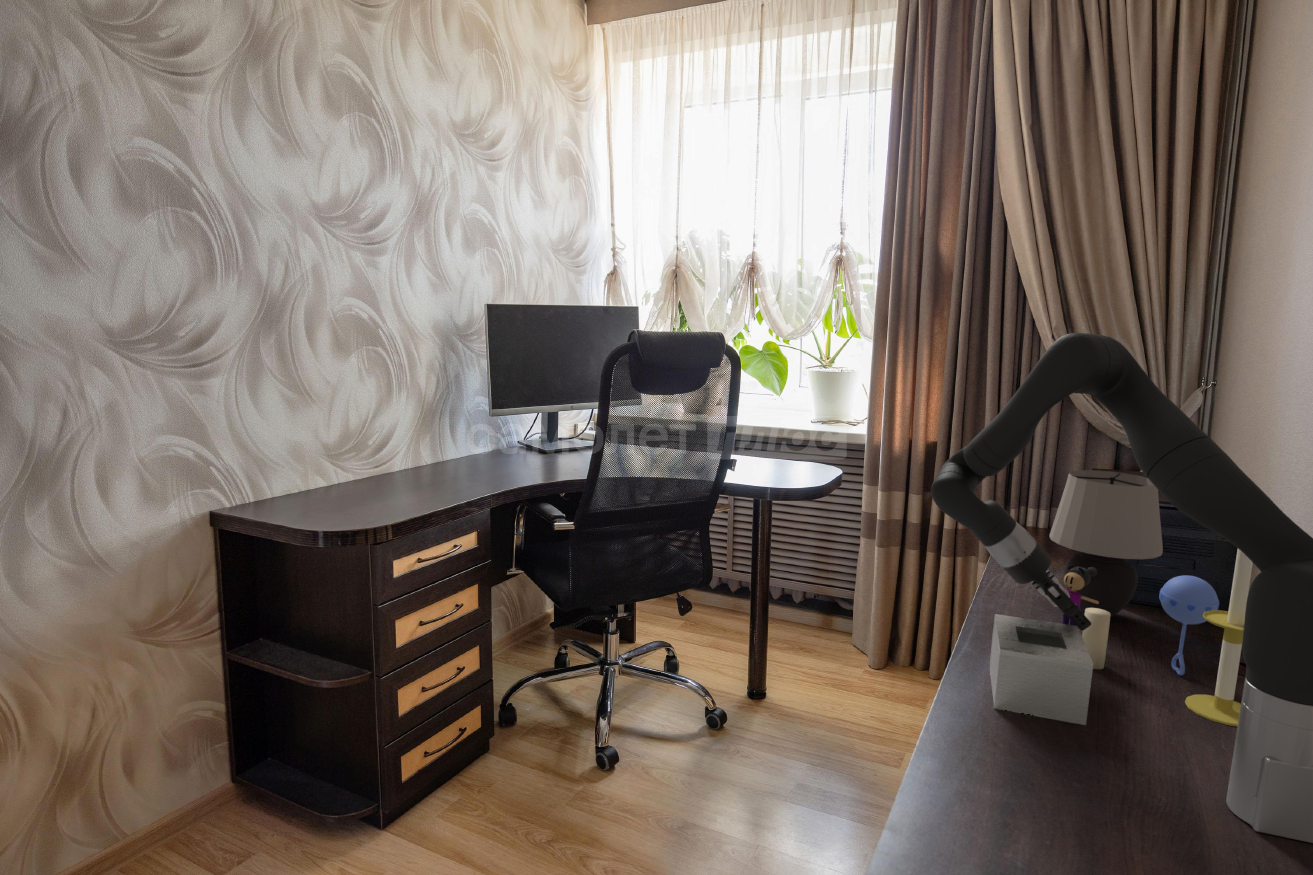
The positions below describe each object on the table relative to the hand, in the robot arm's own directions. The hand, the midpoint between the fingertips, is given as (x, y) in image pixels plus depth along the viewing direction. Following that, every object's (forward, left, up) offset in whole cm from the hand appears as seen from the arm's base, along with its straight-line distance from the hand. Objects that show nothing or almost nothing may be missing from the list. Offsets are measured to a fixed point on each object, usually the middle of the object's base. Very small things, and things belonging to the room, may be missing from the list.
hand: (1078, 617), depth 140 cm
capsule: (+1, -3, -9) cm, 9 cm away
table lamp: (+29, -8, -9) cm, 31 cm away
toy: (+12, -1, -9) cm, 15 cm away
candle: (-10, -20, -9) cm, 24 cm away
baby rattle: (+3, -17, -9) cm, 19 cm away
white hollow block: (-16, +8, -9) cm, 20 cm away
